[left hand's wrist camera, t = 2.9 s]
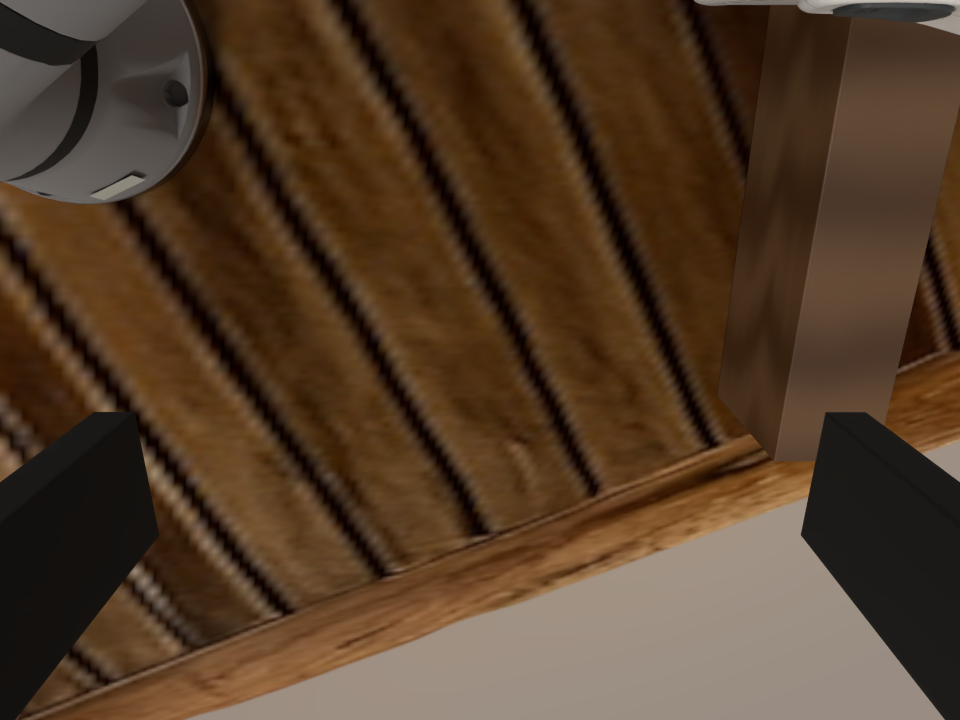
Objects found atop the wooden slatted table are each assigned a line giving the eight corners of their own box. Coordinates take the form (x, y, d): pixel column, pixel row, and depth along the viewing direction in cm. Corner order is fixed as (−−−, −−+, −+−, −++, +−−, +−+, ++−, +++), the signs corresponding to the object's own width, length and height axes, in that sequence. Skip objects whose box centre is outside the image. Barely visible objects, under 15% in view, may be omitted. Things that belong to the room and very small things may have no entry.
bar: (798, 395, 44) (876, 461, 35) (716, 395, 44) (774, 461, 35) (884, -73, 35) (1017, -137, 26) (780, -73, 35) (879, -137, 26)
